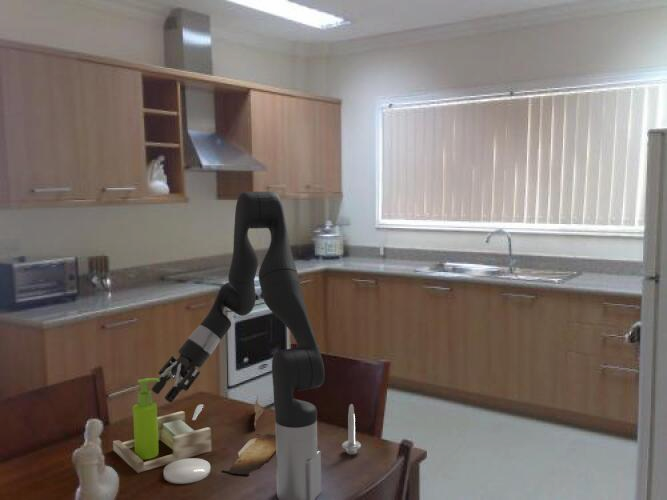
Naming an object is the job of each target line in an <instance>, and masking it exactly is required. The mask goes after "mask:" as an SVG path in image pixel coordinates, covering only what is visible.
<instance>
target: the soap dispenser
mask: <svg viewBox="0 0 667 500" xmlns="http://www.w3.org/2000/svg"><path fill="white" fill-rule="evenodd" d="M137 381H138V385H140V390H139V391H138V392H137V403H136V404H134V405H133V406H132V417H133V420H132V421H133V434H134V435H133V439H134V444H135V447H134V453H135V454H136V455H137V456H138V457H139V458H140V459H141V460H143V461H145V460H152V459H155V458H156V457H158V456H159V454H160V453H159V449H160V448H159V440H158V422H157V417H158V404H157V403H156V402H155V401H154V402H153V401H152V398H153V397H152V390H149V389H148V386H149V385H148V383H156V382H160V377H159V378H157V377H147V378H146V377H145V378H140V379H137Z"/></svg>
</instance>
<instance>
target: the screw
mask: <svg viewBox="0 0 667 500" xmlns="http://www.w3.org/2000/svg"><path fill="white" fill-rule="evenodd" d="M355 415H356V414H355V407H354V404H352V403H350V404H349V405H348V415H347V416H348V417H347V418H348V419H347V423H348V424H347V425H348V426H347V430H348V432H347V434H348V435H347V436H348V437H347V438H348V439H347V440H345V441H344V442H343V443H342V444H341V446H342V448H343V449H345V450H346V451H345V453H347V454H348V455H355V454H357V453H358V449H360V448H361V447H362V444H361V443H360V442H359V441H358V440H356V423H355V422H356V418H355V417H356V416H355Z"/></svg>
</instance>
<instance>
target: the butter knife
mask: <svg viewBox="0 0 667 500" xmlns="http://www.w3.org/2000/svg"><path fill="white" fill-rule="evenodd" d="M203 406H204V407H205V405H204V404H201V403H200V404H198V405H197V406H195V407H196V408H195V410H194V412H193V416H192V419H191V421H196V420H197V417H198V415H200V414H201V412H202V410H203V409H204V407H203ZM202 408H203V409H202Z"/></svg>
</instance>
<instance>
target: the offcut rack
mask: <svg viewBox="0 0 667 500" xmlns="http://www.w3.org/2000/svg"><path fill="white" fill-rule="evenodd" d="M157 422H158V441H160V442H161V443H164V444H165V445H166V446H167V447H169V448H170V449H171V450H172V453H171V454H169V455H165V456H162V457H158V458H153V459H150V460H147V461H145V460H141V459H140V458H139V457H138V456H137V455H136V454H135V452H134V451H133V450H131V449H133V448H135V444H134V438H133V439H130V440H127V441H123V442H122V441H121V440H120V439H117V440H113V441H112V447H113V448H112V449H113V452H114V453H116V454H117V455H118V456H119V457H120V458H121V459H122V460H123V461H124V462H125V463H126V464H127V465H128V466H130V467H131V468H132V469H133V470H134V471H135V472H136V473H137V474H140V473H143V472H145V471H149V470H153V469H155V468H158V467H162V466H167V465H168V464H170V463H172V462H174V461H177V460H181V459H188V458H193V457H196V456H199V455H202V454H205V453H209V452H212V429H211V428H210V427H203V428H200V429H196V430H194V429H193V428H191V426H189V425H188V424H187V423H186V412H185V411H183V410H181V411H180V410H179V411H177V412H173V413H172V412H171V413H169V414H166V415H161V416H157Z"/></svg>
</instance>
